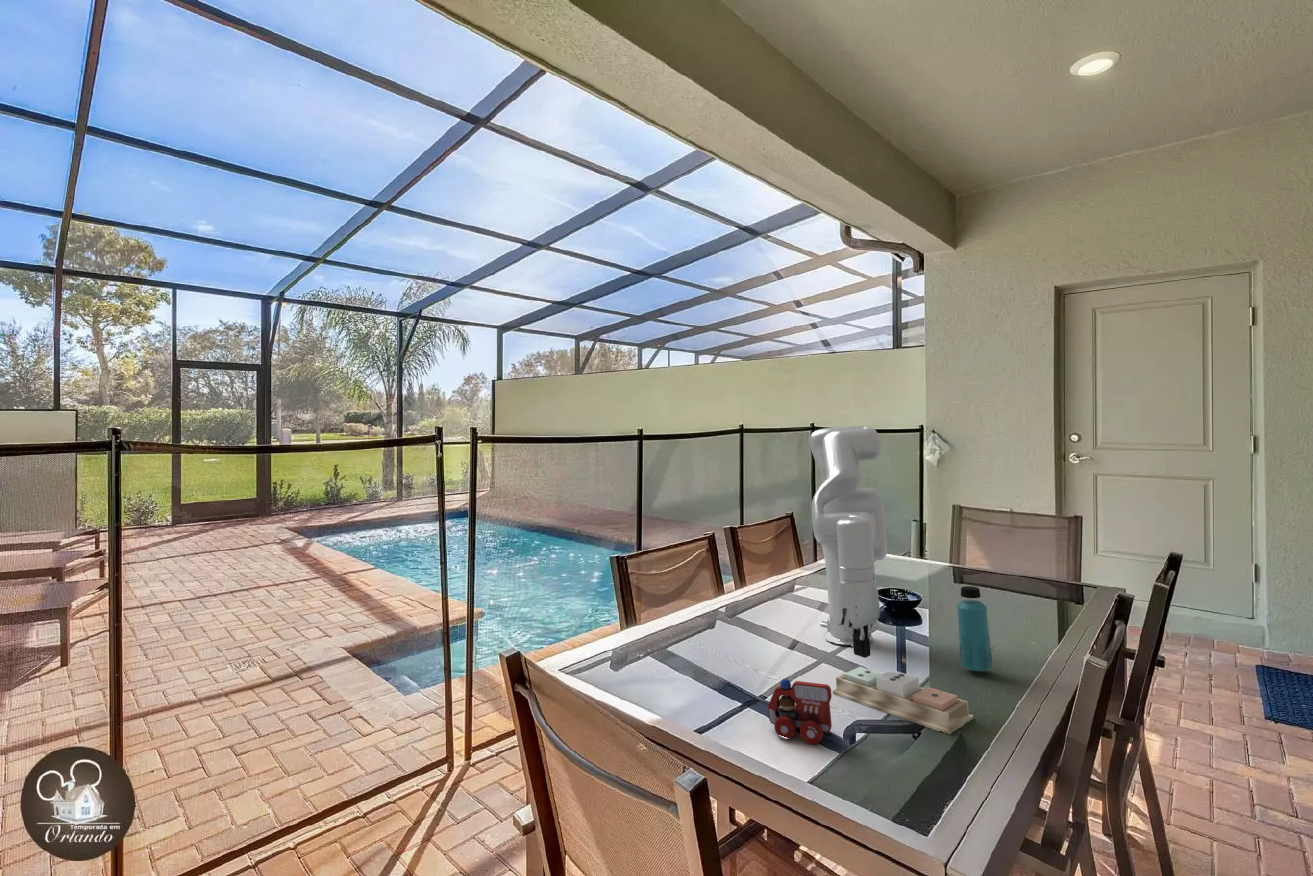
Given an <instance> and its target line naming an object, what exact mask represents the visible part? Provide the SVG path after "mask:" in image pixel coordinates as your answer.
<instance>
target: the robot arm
mask: <svg viewBox="0 0 1313 876" xmlns="http://www.w3.org/2000/svg"><path fill="white" fill-rule="evenodd" d="M809 442H810V443H809V444H810V450H811V452H812V456H813V459H814V461H815V462H816V465H817V467H818V470H819V473H820V475H821V476H820V477H821V484H820V486H819V487H818V488H817V490H816V492H815V493H814V496H813V498H812V501H811V522H812V530H813V531H812V532H813V534H814V535H813V536H814V538H815V540H816V541H817V542H818V543H820V544H821V548H822V552H823V557H824V563H825V570H826V571H825V572H826V583H827V597H828V599H827V600H828V612H829V614H828V615H829V618H825V617H824V618H822V619H821V622H820V623H819V625H820V627H821V628H826V633H827V632H830V633H831V635H832V636H833V637H835V638H837V639H840V641H839V642H842V643H847V644H853V646H852V647H853V654H854V655H855V656H858V657H861V658H865V659H866V658H869V657H870V656H871V655H872V654H871V642H872V641H873V636H872V628H873V627H874V626H875V625H876V624H877V621H878V619H880V613H881V612H880V598H879V592H878V586H877V582H876V570H875V569H876V567H875V561H876V562H877V561H882V560H883V559H885V558H886V556H887V554H888V539H887V534H886V533H887V531H886V530H887V529H886V522H885V521H886V520H885V511H884V504H883V499H882V496H881V494H880V492H879V491H878V490H877V489H876V488H872V487H859V486H860V485H861V482H862V481H863V479H862V478H863V477H862V472H861V466H860V461H861V462H862V461H875V460H878V459H879V458H880V456H881V454H882V443H881V438H880V435H879V433H878V432H877V430H876V429H875V428H874V427H872V426H870V425H855V426H853V425H852V426H836V427H834V426H833V427H825V428H820V429H817V430H815V431H813V432H812V433H811V434H810V438H809ZM871 640H872V641H871ZM870 641H871V642H870Z"/></svg>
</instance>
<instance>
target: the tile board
mask: <svg viewBox="0 0 1313 876" xmlns="http://www.w3.org/2000/svg"><path fill="white" fill-rule="evenodd" d="M835 682H836V689H834V690H832V695H836V696H839V697H842V698H844V699H846V700H850V701H852V702H855V703H858V704H861V705H864V706H867V707H869V708H872V709H876V710H879V712H883V713H886V714H889V715H892V716H894V717H897V718H900V719H902V720H906V721H909V722H912V723H914V724H917V725H920V726H922V727H926V728H929V729H931V730H935V731H937V732H939V731H942V732H946V733H950V732H952V731H953V730H954V729H956V728H957V727H958V726H959V725H961V724H963V723H964V722H965V721H967V720H968V719H971V718H973V717H974V715H973V714H970V711H969V710H970V709H969V701H967V700H963V699H961V698H958V703H957V704H956V705H954V706H952V707H951V708H949V709H947V710H946V711H944V712H942V711H939V710H936V709H933V708H930V707H927V706H924V705H921V704H918V703H915V702H913V698H912V695H911V696H909V697H907V698H905V699H902V698H899V697H896V696H893V695H890V694H887V693H884V692H881V691H878V690H877V685H876V684H875V685H873V686H871V687H866V686H863V685H860V684H856V683H853V682H850V681H847V680H845V679H844V674H840V675H839V676H837V677H836V678H835ZM923 689H925V688H924V687H921V686H919V691H921V690H923ZM919 691H918V692H919ZM918 692H916V693H918ZM916 693H914V694H916ZM914 694H913V695H914ZM974 718H975V717H974ZM942 732H941V733H942Z"/></svg>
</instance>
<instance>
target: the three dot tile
mask: <svg viewBox="0 0 1313 876" xmlns="http://www.w3.org/2000/svg"><path fill="white" fill-rule="evenodd" d="M919 683H920V682H919V676H915V675H911V674H908V673H904V672H901V671H897V670H894V669H891V670H889V671H886V672H884V673H883V674H882V675H880V676H878V677H876V685H877V690H878V691H881V692H884V693H887V694H890V695H893V696H896V697H899V698H902V699H905V698H907V697H909V696H911V695H913V694H914V693H916V692H918V691H919V687H920V684H919Z"/></svg>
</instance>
